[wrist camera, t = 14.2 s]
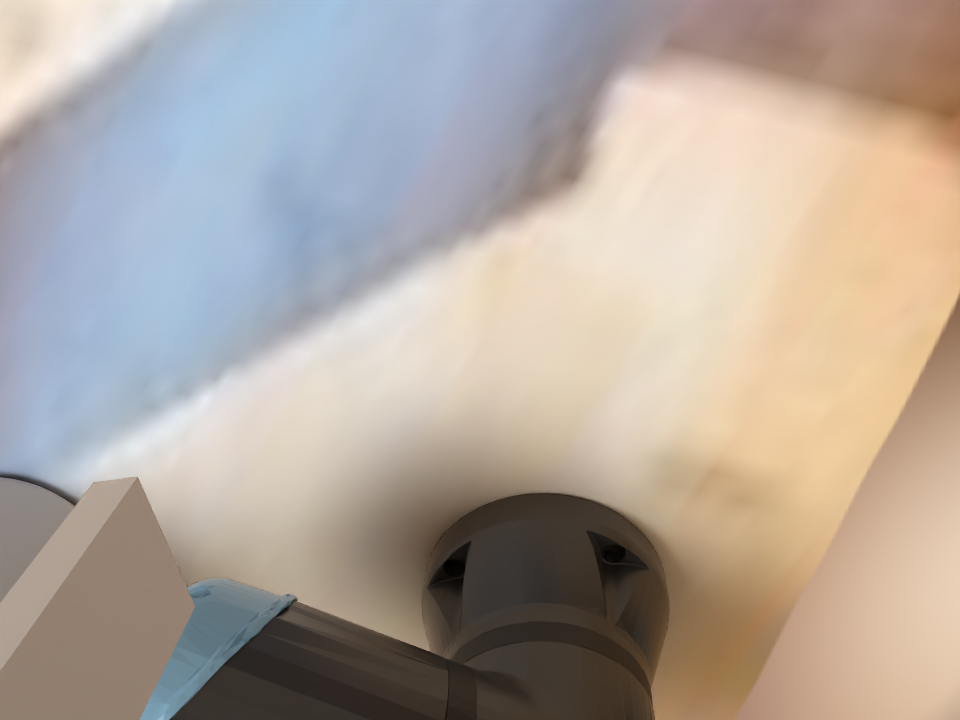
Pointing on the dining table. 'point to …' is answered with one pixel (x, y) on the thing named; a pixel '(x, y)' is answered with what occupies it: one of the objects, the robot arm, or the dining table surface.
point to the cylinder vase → (25, 526)
